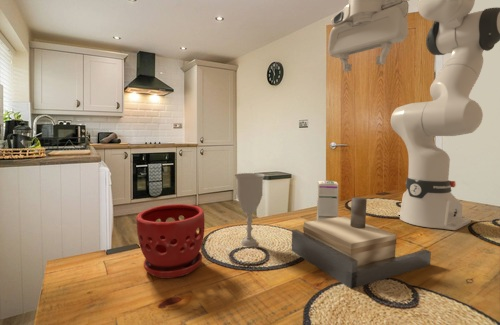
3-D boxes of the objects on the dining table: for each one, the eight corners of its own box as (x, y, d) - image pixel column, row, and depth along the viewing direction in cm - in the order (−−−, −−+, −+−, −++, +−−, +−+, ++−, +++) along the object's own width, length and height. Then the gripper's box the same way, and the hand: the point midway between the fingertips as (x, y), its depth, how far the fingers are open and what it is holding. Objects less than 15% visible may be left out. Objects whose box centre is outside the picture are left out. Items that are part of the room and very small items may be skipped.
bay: (360, 241, 75) (362, 218, 74) (429, 270, 58) (431, 242, 58) (291, 255, 65) (292, 230, 64) (350, 295, 49) (352, 261, 48)
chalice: (241, 256, 64) (242, 177, 63) (229, 245, 70) (230, 174, 69) (269, 250, 68) (270, 176, 66) (255, 241, 74) (256, 172, 72)
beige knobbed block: (343, 244, 69) (345, 191, 68) (394, 268, 57) (398, 204, 55) (302, 252, 64) (304, 195, 63) (349, 281, 51) (353, 211, 50)
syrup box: (337, 235, 79) (340, 184, 78) (316, 233, 80) (318, 183, 79) (335, 228, 84) (338, 180, 83) (315, 227, 86) (317, 180, 84)
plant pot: (152, 254, 65) (151, 203, 64) (209, 255, 64) (209, 204, 63) (125, 283, 52) (123, 219, 51) (197, 285, 51) (196, 221, 50)
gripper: (415, 0, 65) (411, 61, 66) (340, 27, 81) (337, 76, 83) (402, -9, 61) (397, 56, 63) (326, 21, 78) (323, 72, 79)
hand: (363, 67), depth 73 cm, fingers open, 8 cm apart
